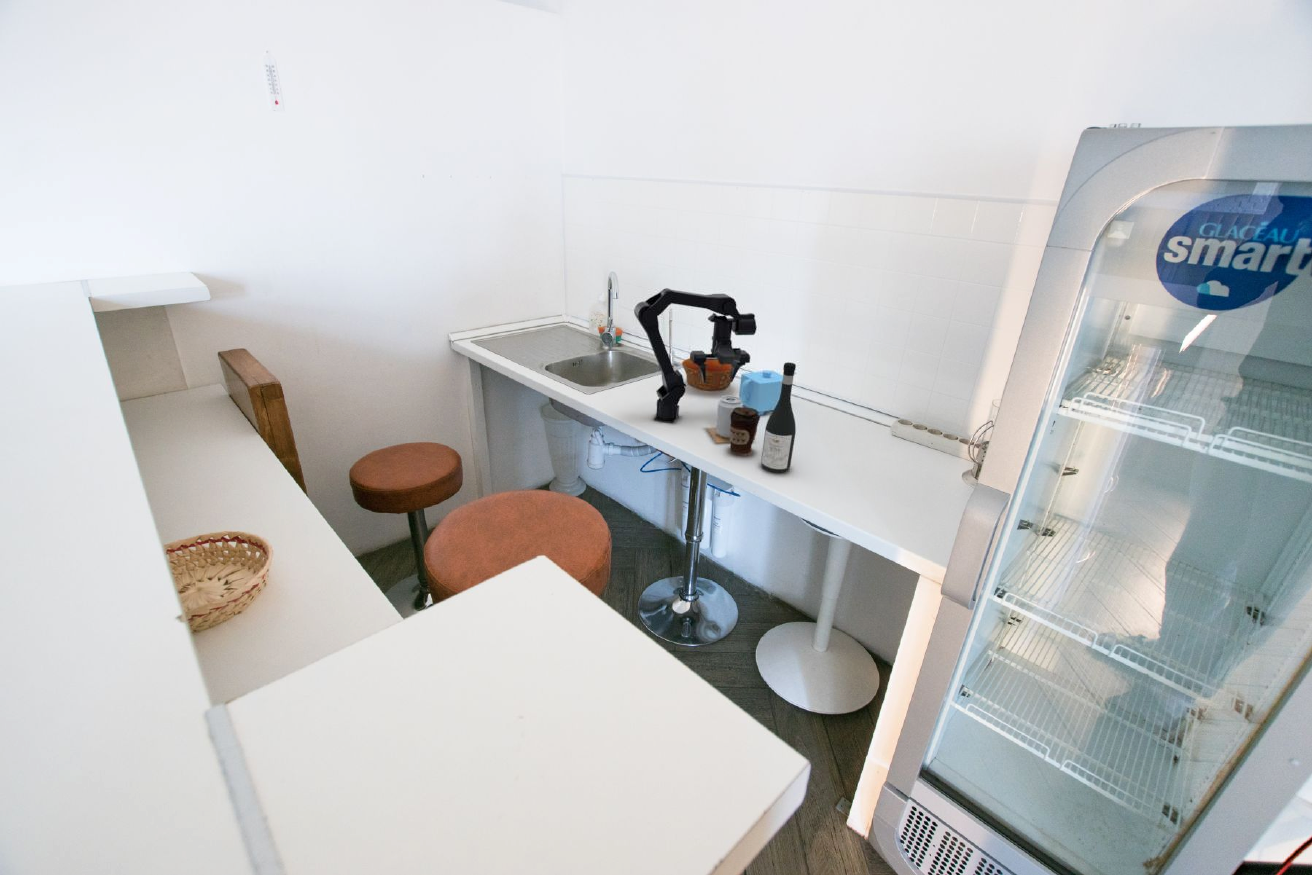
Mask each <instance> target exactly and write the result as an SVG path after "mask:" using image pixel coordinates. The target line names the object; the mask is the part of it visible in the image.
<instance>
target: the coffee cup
mask: <svg viewBox="0 0 1312 875" xmlns="http://www.w3.org/2000/svg"><path fill="white" fill-rule="evenodd" d="M758 413H759V412H758V411H757V410H756V409H753V408H747V407H745V406H743V407H736V408H734V409H733V412H732V413H731V415H730V419H731V425H730V441H731V443H730V447H729V451H730V452H731V453H732V454H734V455H737V456H750V455H752V453H753V450H752V446H753V443H754V441H755V440H756V435H757V432H758V425H759V422H760V419H761V415H758Z"/></svg>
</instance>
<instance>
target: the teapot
mask: <svg viewBox="0 0 1312 875" xmlns="http://www.w3.org/2000/svg"><path fill="white" fill-rule="evenodd" d="M796 374H797V372H794V376H795V375H796ZM782 380H783V374H781V373H779V372H776V371H775V370H768V369H766V370H762V371H754V372H753V371H752V372H745V373H741V375H740V383H739V392H738V397H739V398H740V399H741V402H742V404H743V406H744V407H747V408H753V409H756V410H757V411H758V412H759V413H758V415H759V416H764V414H765V412H768V411H771V413H772V412H773V410H774V408H775V407H776V405H777V403H778V401H779V398H780V394H781V387H782Z"/></svg>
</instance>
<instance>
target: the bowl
mask: <svg viewBox="0 0 1312 875" xmlns="http://www.w3.org/2000/svg"><path fill="white" fill-rule="evenodd" d="M705 363H706V364H707V366H706V381H705V383H704V382H703V379H702V376H701V372H700V369H699V367H698V366H697V365H696V364H694V363H693V362H692V361H691V360H690V357H689V358H687V359H684V360H683V361H682V362H681V366H682V368H683V370H684V373H685V376H686V377H685V378H686V383H687V385H688V386H689V387H690V388H693V389H696V390H699V391H703V392H721V391H724V390H727V389H729V388H730V386H731V384H732V382H730V373H731V365H730V364H724V365H721V364H719V361H718V360H706V362H705Z"/></svg>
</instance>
